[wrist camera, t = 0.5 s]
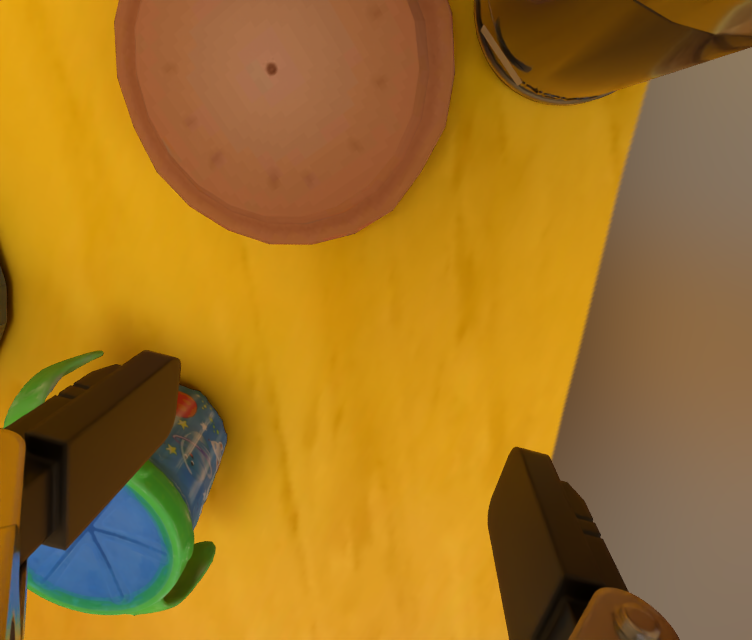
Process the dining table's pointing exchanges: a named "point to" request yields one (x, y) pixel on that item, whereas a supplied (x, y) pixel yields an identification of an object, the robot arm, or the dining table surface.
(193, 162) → the pie
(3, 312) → the snack bowl
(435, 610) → the dining table surface
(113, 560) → the snack cup
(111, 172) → the dining table surface
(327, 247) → the dining table surface
